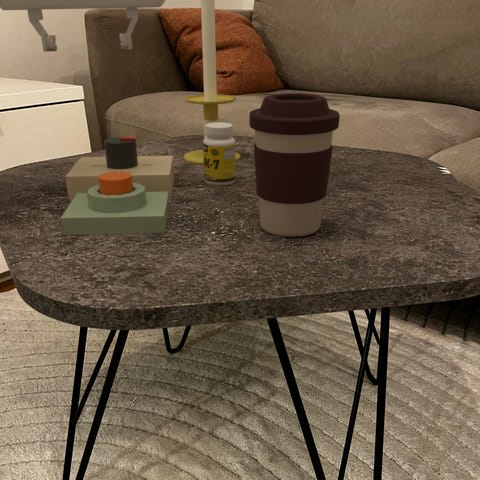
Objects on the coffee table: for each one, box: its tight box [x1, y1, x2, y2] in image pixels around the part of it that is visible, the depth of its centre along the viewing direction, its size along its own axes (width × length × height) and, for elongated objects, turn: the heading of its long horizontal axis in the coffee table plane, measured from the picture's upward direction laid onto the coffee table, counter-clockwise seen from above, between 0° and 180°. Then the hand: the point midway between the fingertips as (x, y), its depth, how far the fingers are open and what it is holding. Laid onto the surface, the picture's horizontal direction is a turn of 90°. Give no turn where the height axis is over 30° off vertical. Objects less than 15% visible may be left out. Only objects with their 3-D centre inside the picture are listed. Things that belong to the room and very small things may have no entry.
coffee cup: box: [249, 92, 341, 238], centre depth 68 cm, size 10×10×15 cm
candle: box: [183, 0, 241, 165], centre depth 97 cm, size 10×10×27 cm
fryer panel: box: [65, 155, 175, 202], centre depth 86 cm, size 14×11×4 cm
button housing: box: [60, 183, 171, 236], centre depth 73 cm, size 12×10×4 cm
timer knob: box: [103, 136, 138, 169], centre depth 84 cm, size 4×4×4 cm
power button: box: [98, 172, 133, 195], centre depth 72 cm, size 4×4×2 cm
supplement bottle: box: [202, 122, 236, 186], centre depth 88 cm, size 5×5×8 cm
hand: (88, 50), depth 74 cm, fingers open, 8 cm apart
